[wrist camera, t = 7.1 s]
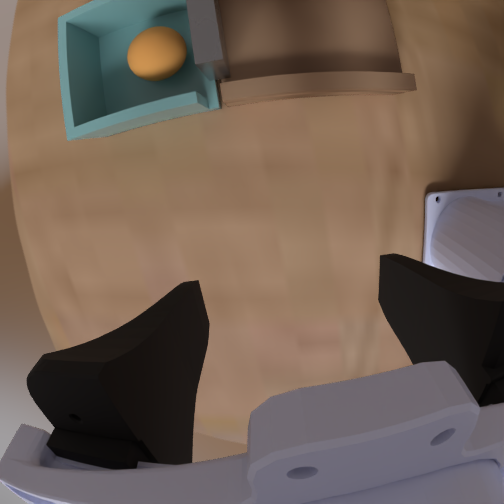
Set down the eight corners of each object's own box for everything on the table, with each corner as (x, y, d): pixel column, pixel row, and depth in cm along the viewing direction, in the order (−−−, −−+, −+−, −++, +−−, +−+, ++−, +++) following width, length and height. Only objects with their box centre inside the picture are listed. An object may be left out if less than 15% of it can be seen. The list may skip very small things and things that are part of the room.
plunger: (219, 4, 13) (208, -29, 9) (230, 77, 15) (223, 59, 11) (198, 8, 13) (183, -24, 9) (209, 81, 15) (195, 64, 11)
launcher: (370, -6, 14) (388, -25, 11) (392, 95, 17) (416, 89, 14) (211, 1, 15) (203, -22, 11) (228, 106, 18) (222, 100, 14)
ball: (174, 36, 16) (190, 15, 13) (181, 82, 17) (198, 67, 14) (122, 43, 14) (128, 20, 11) (127, 91, 16) (134, 76, 13)
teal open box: (204, 2, 15) (190, -32, 10) (221, 108, 18) (210, 100, 13) (94, 35, 15) (57, 18, 11) (106, 136, 18) (67, 140, 14)
